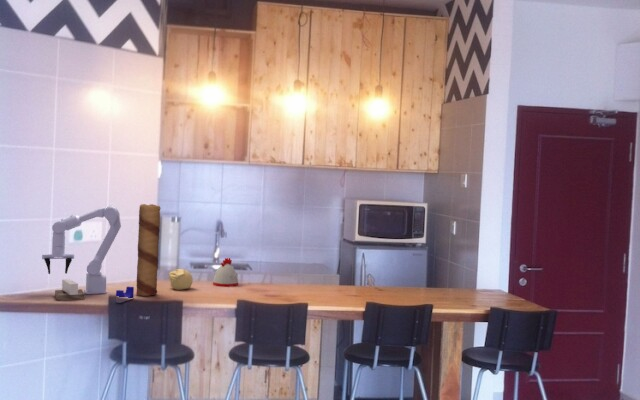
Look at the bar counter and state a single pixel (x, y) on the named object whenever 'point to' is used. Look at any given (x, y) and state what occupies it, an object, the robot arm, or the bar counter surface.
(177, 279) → the sculpture
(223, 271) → the pompom beanie hat
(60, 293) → the brown square tray
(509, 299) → the bar counter surface
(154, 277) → the wafer roll
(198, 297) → the bar counter surface
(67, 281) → the bar
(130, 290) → the cable clip
